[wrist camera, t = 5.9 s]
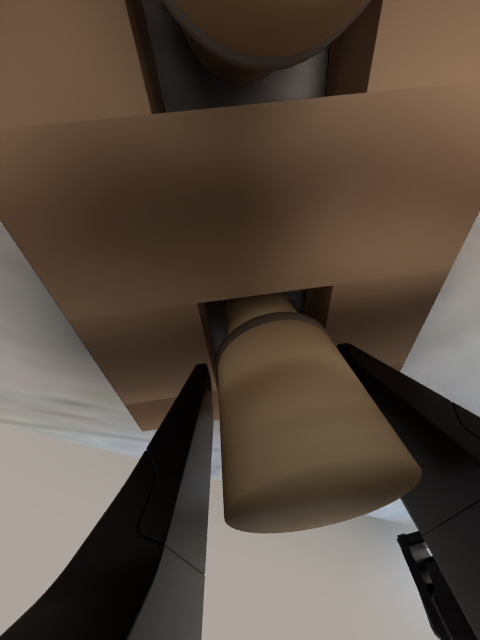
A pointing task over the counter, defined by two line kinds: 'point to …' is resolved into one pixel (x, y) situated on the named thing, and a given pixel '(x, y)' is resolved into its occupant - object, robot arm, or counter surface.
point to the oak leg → (299, 425)
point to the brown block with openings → (238, 174)
